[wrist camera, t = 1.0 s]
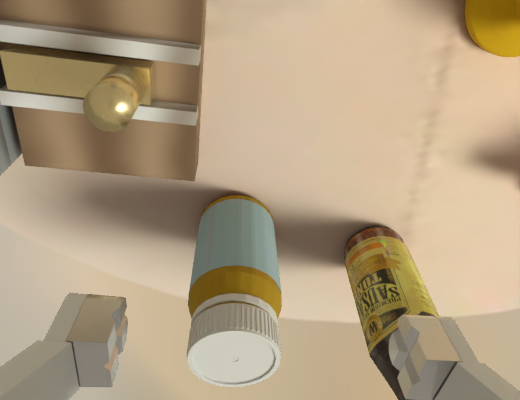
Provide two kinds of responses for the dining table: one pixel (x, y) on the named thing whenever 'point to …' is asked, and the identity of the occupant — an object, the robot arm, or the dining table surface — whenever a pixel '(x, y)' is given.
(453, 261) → the dining table surface
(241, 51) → the dining table surface
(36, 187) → the dining table surface
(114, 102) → the bolt
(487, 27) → the doorknob
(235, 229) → the bottle
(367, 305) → the sauce bottle
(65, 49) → the door latch block
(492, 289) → the dining table surface
